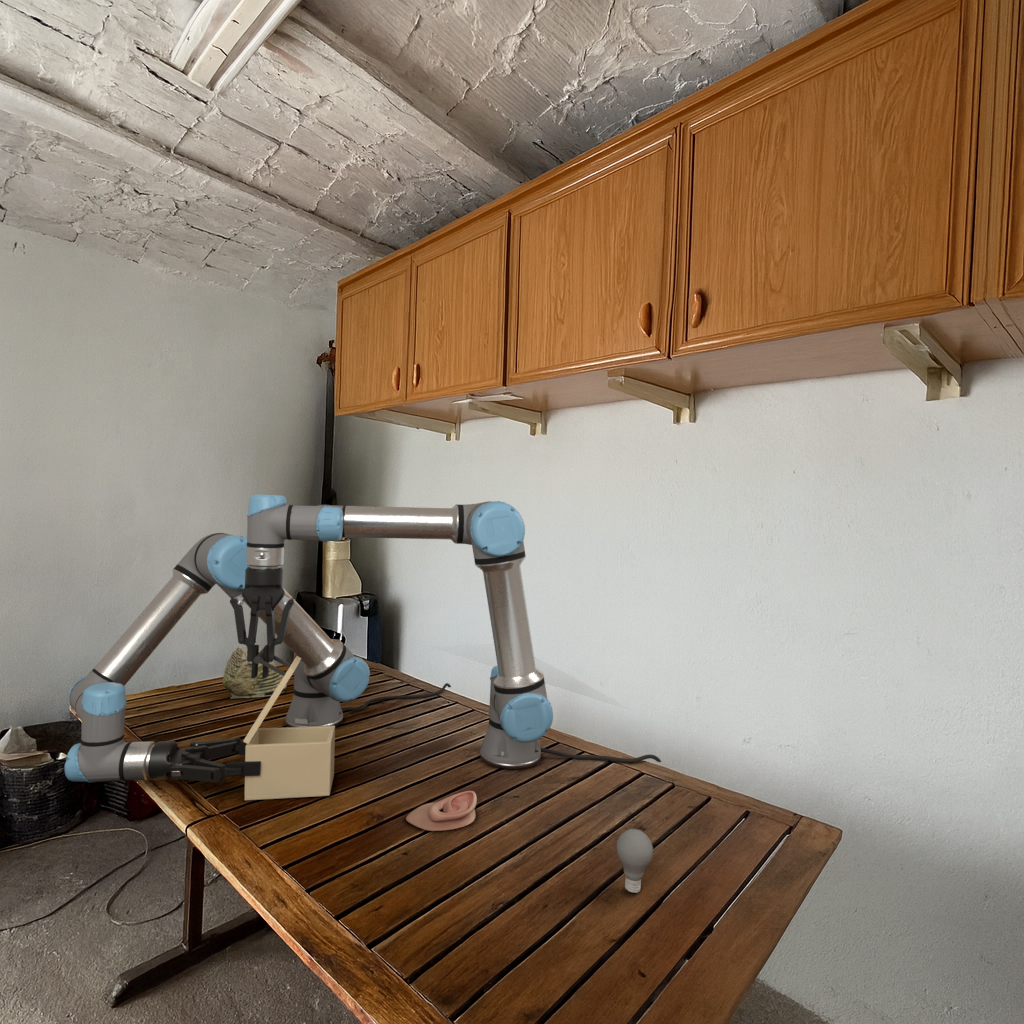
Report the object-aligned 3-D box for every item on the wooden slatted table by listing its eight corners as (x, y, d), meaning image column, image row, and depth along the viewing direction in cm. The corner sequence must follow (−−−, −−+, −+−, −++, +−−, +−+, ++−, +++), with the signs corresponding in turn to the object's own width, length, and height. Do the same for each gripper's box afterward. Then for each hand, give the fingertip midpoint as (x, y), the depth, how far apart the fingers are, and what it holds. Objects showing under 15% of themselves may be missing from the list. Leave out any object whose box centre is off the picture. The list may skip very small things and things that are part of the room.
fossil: (218, 695, 195) (220, 647, 195) (278, 685, 208) (279, 640, 207) (228, 703, 189) (230, 653, 188) (289, 692, 201) (290, 645, 201)
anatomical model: (400, 806, 123) (421, 781, 134) (399, 826, 123) (420, 799, 134) (466, 816, 120) (481, 789, 131) (465, 836, 120) (481, 808, 131)
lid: (301, 658, 142) (268, 639, 140) (294, 670, 132) (258, 650, 130) (258, 726, 140) (224, 708, 139) (248, 744, 131) (211, 725, 129)
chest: (334, 775, 144) (335, 725, 144) (329, 795, 134) (330, 742, 134) (254, 779, 141) (255, 728, 140) (244, 800, 131) (245, 746, 130)
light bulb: (610, 879, 108) (613, 822, 108) (644, 879, 109) (647, 822, 109) (619, 902, 102) (622, 840, 102) (655, 901, 103) (658, 840, 103)
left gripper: (171, 756, 143) (274, 753, 147) (130, 804, 121) (253, 799, 125) (172, 723, 143) (275, 721, 147) (131, 765, 121) (254, 762, 125)
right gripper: (223, 567, 130) (218, 681, 130) (297, 569, 133) (292, 681, 133) (232, 563, 137) (228, 671, 138) (302, 565, 140) (298, 671, 141)
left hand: (265, 757), depth 136 cm, fingers closed on chest, 10 cm apart
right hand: (259, 676), depth 135 cm, fingers closed on lid, 1 cm apart
